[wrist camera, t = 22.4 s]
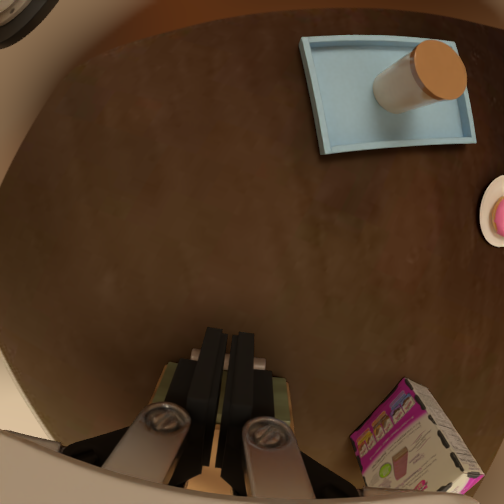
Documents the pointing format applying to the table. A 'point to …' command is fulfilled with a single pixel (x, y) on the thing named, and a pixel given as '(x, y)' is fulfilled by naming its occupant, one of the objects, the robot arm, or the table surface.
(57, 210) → the table surface
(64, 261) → the table surface
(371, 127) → the tray
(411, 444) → the candy bar box
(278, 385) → the drawer
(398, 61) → the spice pot
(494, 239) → the donut
